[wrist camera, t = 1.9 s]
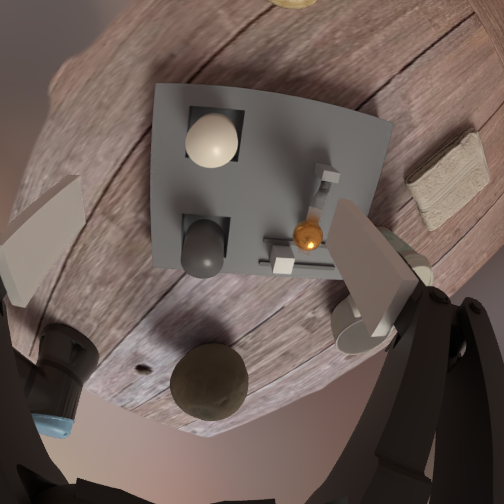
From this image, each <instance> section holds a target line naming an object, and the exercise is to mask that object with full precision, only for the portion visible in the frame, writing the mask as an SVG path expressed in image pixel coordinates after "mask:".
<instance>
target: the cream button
mask: <svg viewBox="0 0 504 504" xmlns="http://www.w3.org/2000/svg"><path fill="white" fill-rule="evenodd" d="M185 146H186V151H187V153H188V155H189V157H190V158H191V159H192V160H193V161H194V162H195V163H196V164H198V165H200V166H202V167H206V168H216V167H220V166H223V165H225V164H226V163H228V162H229V161H230V160H231V159H232V158H233V156H234V155H235V153H236V150H237V147H238V138H237V133H236V128H235V125H234V123H233V122H232V120H231V119H230V118H228V117H227V116H226V115H223V114H220V113H209V114H206V115H204V116H202V117H201V118H200V119H199V120H198V121H197V122H196V123H195V124H194V125H193V126H192V127H191V128H190V130H189V131H188V133H187V136H186V140H185Z"/></svg>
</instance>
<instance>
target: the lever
mask: <svg viewBox="0 0 504 504" xmlns="http://www.w3.org/2000/svg"><path fill="white" fill-rule="evenodd" d="M330 187H331V182H328V181H322V180H321V184H320V187H319V189H318V191H317V192H316V194H315V196H314V198H313V200H312V202H311V204H310V206H309V210H308V214H307V218H306V221H302V222H300V223H299V224H297V226H296V227H295V228H294V231H293V241H294V243H295V245H296V246H297V247H298V248H299V249H298V253H300V254H303V255H307V256H309V255H310V252H311V251H312V250H315V249H316V248H318V247H319V246H320V244H321V243H322V240H323V232H322V229H321V227H320V224H321V220H322V217H323V213H324V209H325V206H326V202H327V198H328V194H329V191H330Z"/></svg>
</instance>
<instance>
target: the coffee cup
mask: <svg viewBox="0 0 504 504" xmlns="http://www.w3.org/2000/svg"><path fill="white" fill-rule="evenodd" d="M376 228H377V229H378V230H379V231H380V232H381V234H382V235H383V236H384V237H385V238H386V240H387V241H388V242H389V243H390V244H391V246H392V247H393V248H394V249H395V250H396V251H397V252H399V253H400V254H401V255H402V256H403V257H404V258H405V259H406V261H407V262H408V264H410V266H411V267H412V269H413V270H414V271H415V272H416V273H417V275H418V276H419V277H420V278H421V280H422V281H423V282H424V284H425V285H426V286H431V285H432V282H433V272H432V270H431V265H430V263H429V261H428V259H427V258H426V257H425V256H423V255H421V254H419V253H417V252H416V251H415V250H414V249H413V248H411V247H410V246H409V245H408V244H407V243H405V242H404V241H403V240H402V239H400V238H399V237H398V236H397V235H395V234H394V233H393V232H392V231H390V230H389V229H388V228H386V227H383V226H379V227H376Z"/></svg>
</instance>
